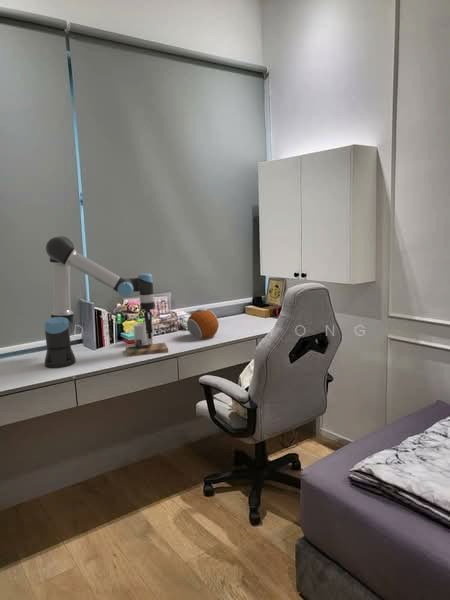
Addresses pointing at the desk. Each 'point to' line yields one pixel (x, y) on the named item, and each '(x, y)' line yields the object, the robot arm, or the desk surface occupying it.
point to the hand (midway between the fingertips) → (149, 343)
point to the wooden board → (147, 349)
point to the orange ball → (202, 324)
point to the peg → (140, 344)
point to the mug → (141, 332)
